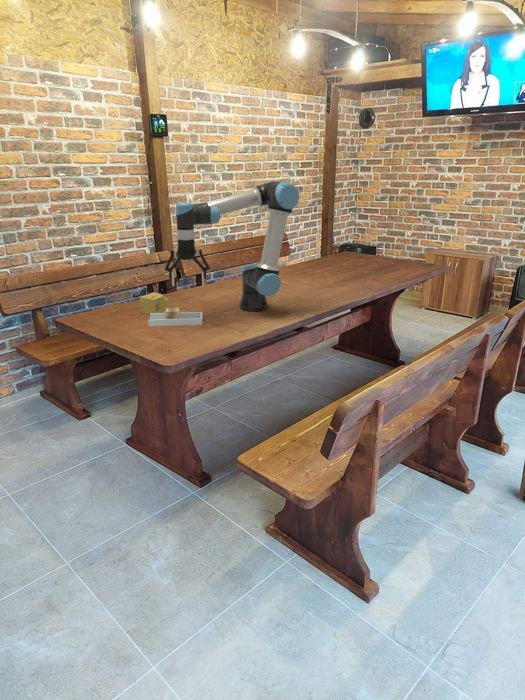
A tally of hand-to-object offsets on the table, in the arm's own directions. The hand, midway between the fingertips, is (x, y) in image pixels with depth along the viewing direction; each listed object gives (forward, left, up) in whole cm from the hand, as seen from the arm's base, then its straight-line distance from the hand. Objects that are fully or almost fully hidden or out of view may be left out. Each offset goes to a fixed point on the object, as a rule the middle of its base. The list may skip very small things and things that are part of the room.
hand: (188, 285), depth 227 cm
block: (+8, +1, -17) cm, 19 cm away
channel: (+7, +1, -19) cm, 20 cm away
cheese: (+18, -17, -19) cm, 31 cm away
